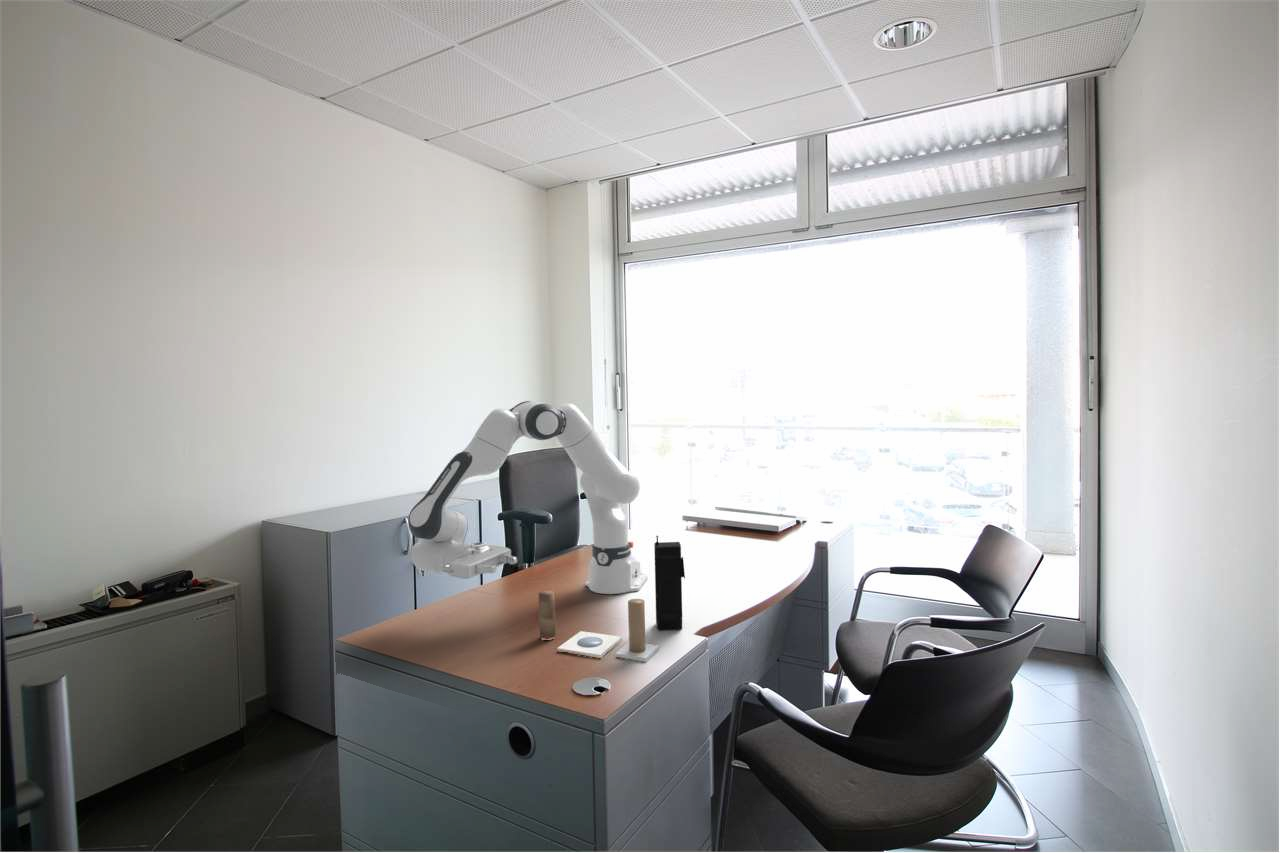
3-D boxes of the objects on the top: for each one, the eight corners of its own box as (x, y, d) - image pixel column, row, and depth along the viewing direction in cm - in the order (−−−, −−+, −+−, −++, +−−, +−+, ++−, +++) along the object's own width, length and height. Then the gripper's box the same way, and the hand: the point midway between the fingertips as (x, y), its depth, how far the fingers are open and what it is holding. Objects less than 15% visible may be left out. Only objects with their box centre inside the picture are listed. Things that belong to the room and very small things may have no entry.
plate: (580, 634, 179) (580, 630, 179) (622, 640, 174) (621, 636, 174) (557, 651, 168) (557, 647, 168) (600, 658, 163) (600, 654, 163)
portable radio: (684, 621, 187) (682, 531, 185) (686, 629, 181) (684, 536, 179) (655, 622, 187) (653, 532, 185) (657, 630, 181) (654, 537, 179)
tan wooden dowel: (629, 645, 171) (628, 594, 170) (658, 649, 168) (657, 598, 167) (615, 657, 164) (614, 604, 163) (646, 662, 161) (644, 608, 160)
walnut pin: (545, 634, 180) (543, 589, 179) (558, 636, 178) (557, 591, 178) (537, 639, 176) (535, 594, 176) (550, 641, 175) (549, 596, 174)
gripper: (437, 557, 177) (481, 562, 171) (485, 540, 195) (526, 544, 190) (438, 581, 177) (481, 587, 172) (486, 562, 196) (526, 567, 190)
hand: (505, 564), depth 181 cm, fingers open, 8 cm apart
